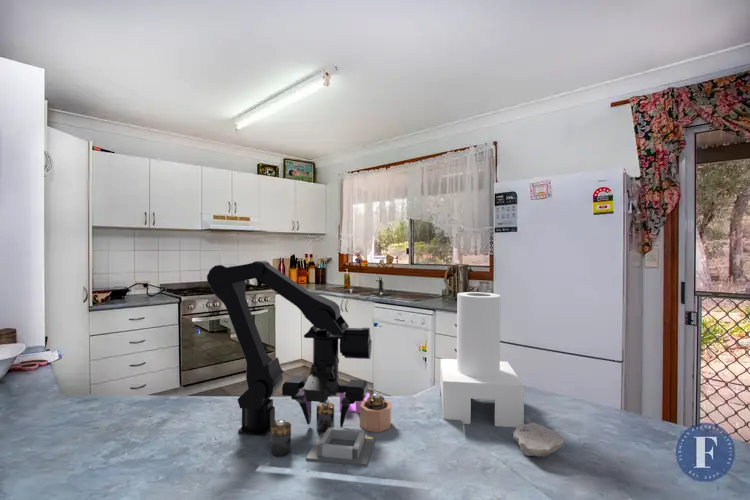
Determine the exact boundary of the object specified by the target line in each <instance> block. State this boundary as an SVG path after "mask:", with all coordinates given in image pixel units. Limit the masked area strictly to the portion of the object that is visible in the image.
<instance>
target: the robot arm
mask: <svg viewBox="0 0 750 500" xmlns="http://www.w3.org/2000/svg"><path fill="white" fill-rule="evenodd" d="M255 279H256V280H258V281H259V282H261V283H263V285H265V286H267V287H268V288H269V289H270V290H272V291H273V292H275V293H277V294H278V295H280V296H281V297H282V298H284V299H285V300H286V301H288V302H290V303H291V304H292V305H293V306H295V307H296V308H298V310H299V311H300V312H301V313H302V315H303V316H304V318H305V319H306V320H308V321H309V323H310V324H311V325H312V326H311V327H310V328H309V330H308V331H307V332H306V333H305V334H304V335H303V337H304V339H312V363H311V365H310V366H311V367H310V373H309V375H308V377H306V376H305V375H303V376H302V375H291V376H290V377H289V378H288V379H287V380H286V381H285V382H284V383H283V379H284V378H283V374H284V373H285V371H284V370H283V369H282V367H281V365H280V360H279V358H278V356H277V357H274V358H271V357H270V356H269V354H267V352H266V349H265V347H264V344H263V341H262V338H261V335H260V334H259V331H258V328H257V325H256V322H255V319H254V317H253V315H252V312H251V309H250V307H249V304H248V302H247V299H246V292H247V291H246V289H247V282H246V281H248V280H255ZM206 281H207V284H208V286H209V287H210V289H211V291H212V293H213V294H214V295H215V297H216V298H218V300H219V301H220V302H221V303H222V304H223V305H224V307H225V308H226V309H225V310H226V311H227V315H228V317H229V320H230V322H231V325H232V328H233V330H234V334H235V335H236V339H237V341H238V343H239V346H240V348H241V349H240V350H241V352H242V354H243V357H244V360H245V364H246V372H245V380H246V385H247V390H245V392H243V394H241V395H240V396H239V397H238V398H237V403H238V406H239V409H241V427H239V428H238V430H237V433H238V434H248V435H259V436H265V435H266V434H267V433H268V432H269V431H271V425H272V424H274V423H277V420H276V408H275V406H274V399H271V397H272V396H274V395H275V393H276V391H277V390H278V389H279V388H280V387H282V388H281V390H282V391H281V395H282V396H284V397H291V398H290V399H291V400H295V401H296V402H297V403H298V404H299V406H300V407H301V410H302V413H303V416H304V419H305V421H306V424H307V425H310V424H311V421H312V402H318V403H324V402H326V401H327V400H328V401H329V397H331V396H337V395H338V394H340V393H344V397H343V399H342V401H341V405H342V407H341V411H340V416H339V417H340V418H339V419H340V420H339V428H344V423H345V421H346V418H347V415H348V413H349V412H348V409H349V407H350V404H354V403H355V402H356V401H364V399H365V397H366V394H367V392H368V393H369V391H368V390H369V385H368V382H367V381H366V380H365V379H350V381H349V382H348V384H345V383H339V381H340V376H339V363H340V358H339V353H340V354H341V356H344V359H357V360H358V359H359V360H361V359H362V360H363V359H364V360H371V355H372V345H373V344H372V343H373V341H372V339H371V332H370V331H371V329H370V328H371V327H358V328H357V327H350V326H349V324H348V323H347V321H346V320H345V319H344V316H342V314H341V308H340V305H339V304H338V303H336V302H335V301H334V300H331V299H329V298H327V297H324V296H322V295H319V294H317V293H314V292H311V291H309V290H308V289H306V288H305V287H303V286H302V285H300V284H299V283H297V282H296V281H294V280H293V279H292V278H290V277H289V276H287V275H286V274H284V273H283V272H282V271H280V270H279V269H277V268H276V267H274V266H272V265H271V263H269V261H266V260H257V261H253V262H251V263H246V264H241V265H237V264H235V263H227V264H226V263H225V264H217V265H214V266H213V267H211V268H210V270H209V271H208V274H207V275H206ZM281 385H282V386H281Z"/></svg>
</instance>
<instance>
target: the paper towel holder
mask: <svg viewBox="0 0 750 500" xmlns="http://www.w3.org/2000/svg"><path fill="white" fill-rule="evenodd" d="M456 298H457V299H456V300H457V301H456V304H457V306H456V309H457V310H456V311H457V312H456V358H455V359H454V358H440V368H439V369H440V373H439V375H440V378H439V379H440V380H439V382H440V388H439V389H440V390H439V391H440V395H441V404H442V405H441V406H442V410H441V411H442V412H441V413H442V415H441V416H442V420H451V421H452V420H453V421H461V424H463V425H464V424H465V425H471V422H472V421H471V409H472V408H471V407H472V405H471V404H472V403H471V402H472V401H471V400H472V399H475V400H476V399H477V400H492V401H494V426H495V427H504V428H505V427H507V428H517V426H518V425H522V424H525V422H524V421H525V419H524V416H525V411H524V410H525V409H524V408H525V385H524V384H523V382H522V381H521V379H520V377H519V376H518V375H517V373H516V372H515V370H514V369H513V368H512V366H511V365H510V363H509V362H508V361H501V353H500V352H501V295H500V294H498V293H491V292H480V291H479V292H476V291H468V292H467V291H465V292H457V296H456Z"/></svg>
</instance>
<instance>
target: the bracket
mask: <svg viewBox="0 0 750 500" xmlns="http://www.w3.org/2000/svg"><path fill="white" fill-rule="evenodd" d="M370 395H371V394H370V393H369V391H368V392H367V394H366V397H365V399H364V401H365V400H367V398H368V397H369V396H370ZM343 397H344V393H339V412H341V407H342V405H341V401H342V399H343ZM361 403H362V401H356V402H355V403H354V404H350V407H349V409H348V412H347V413H356V414H360V405H361Z"/></svg>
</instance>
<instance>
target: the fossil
mask: <svg viewBox="0 0 750 500" xmlns="http://www.w3.org/2000/svg"><path fill="white" fill-rule="evenodd" d="M512 436H513V437H512V438H513V440H514V441H515V442H517V444H518V445H519V448H520V452H521V453H522V454H523V455H525V456H527V457H532V456H535V457H538V458H539V457H547V456H549V455H551V453H554V452H556V451H557V450H559V449H560V448H561V447H562V446H563V445H564V443H565V438H564V437H563V436H561V434H560V433H559V432H557V431H554V430H552V429H550V428H548V427H546V426H543V425H541V424H540V425H539V424H538V423H536V422H531V423H524V424H522V425H518V426H517V427H515V430H514V431H513V434H512Z"/></svg>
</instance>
